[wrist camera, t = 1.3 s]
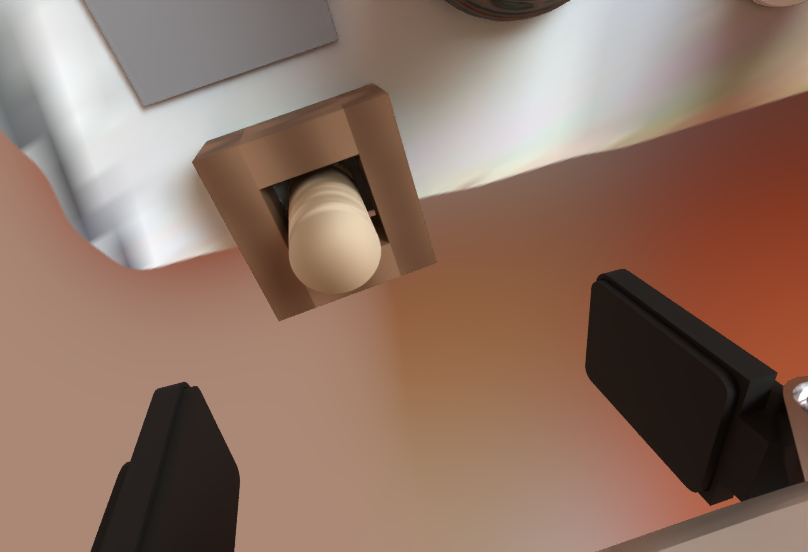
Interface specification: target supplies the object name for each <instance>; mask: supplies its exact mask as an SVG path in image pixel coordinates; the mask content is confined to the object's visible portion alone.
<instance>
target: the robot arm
mask: <svg viewBox="0 0 808 552" xmlns="http://www.w3.org/2000/svg"><path fill="white" fill-rule="evenodd" d="M752 1H754V2H755V3H757V4H761V5H764V6H768V7H782V6H791V5H796V4H799V3H801V2H804V1H807V0H752ZM585 368H586V372H587V375H588V377H589V379H590V380H591V381H592V382H593V384H594V385H595V386H596V387H597V388H598V389H599V390H600V391H601V392H602V394H603V395H604V396H605V397H606V398H607V399H608V400H609V401H610V402H611V404H612V405H613V406H614V407H615V408H616V409H617V410H618V411H619V412H620V414H621V415H622V416H623V417H624V418H625V419H626V420H627V421H628V423H630V425H631V426H632V427H633V428H634V429H635V430H636V431H637V433H638V434H639V435H640V436H641V437H642V438H643V439H644V440H645V441H646V443H647V444H648V445H649V446H650V447H651V448H652V449H653V450H654V451H655V453H656V454H657V455H658V456H659V457H660V458H661V459H662V460H663V462H664V463H665V464H666V465H667V466H668V467H669V468H670V469H671V470H672V472H673V473H674V474H675V475H676V476H677V477H678V478H679V479H680V480H681V482H682V483H683V484H684V485H685V486H686V487H687V488H688V489H689V490H691V491H692V492H698V493H699V494H700V495H701V496H702V497H703V498H704V499H705V500H706V502H708V504H709V505H710V506H711V505H714V504H717V503H720V502H722V501H725V500H728V499H731V498H733V496H734V495H735V496H736V497H737V498H738V499H739V500H740V501H741V502H739V503H736V504H733V505H730V506H727V507H724V508H721V509H718V510H715V511H712V512H710V513H706V514H704V515H701V516H698V517H695V518H692V519H689V520H686V521H683V522H681V523H678V524H675V525H672V526H669V527H666V528H663V529H660V530H657V531H654V532H651V533H649V534H646V535H643V536H640V537H637V538H634V539H632V540H629V541H625V542H623V543H620V544H617V545H614V546H611V547H608V548H606V549H603V550H600V551H597V552H808V376H804V377H796V378H794V379H791V380H789V381H788V382H787V383H786V384H785V385H784V386H783V385H781V384H780V383H778V382H777V381H776V380H775V379H776V376H777V372H776V371H774V370H773V369H771V368H770V367H768V366H767V365H765V364H764V363H762V362H761V361H759V360H758V359H757V358H755V357H754V356H752V355H751V354H749V353H748V352H746V351H745V350H743V349H742V348H741V347H739V346H738V345H736V344H735V343H733V342H732V341H730V340H729V339H727V338H726V337H724V336H723V335H721V334H720V333H718V332H717V331H715V330H714V329H713V328H711V327H709V326H708V325H707V324H705V323H704V322H702V321H701V320H699V319H698V318H696V317H695V316H693V315H692V314H691V313H689V312H688V311H686V310H685V309H683V308H682V307H680V306H679V305H677V304H676V303H674V302H673V301H672V300H670V299H669V298H667V297H665V296H664V295H663V294H661V293H660V292H658V291H657V290H656V289H654V288H653V287H651V286H650V285H648V284H647V283H645V282H644V281H642V280H641V279H639V278H638V277H636V276H635V275H633V274H632V273H630V272H629V271H627V270H625V269H620V270H615V271H612V272H608V273H604V274H601V275H599V276H598V278H597V281H596V282H594V283H593V285H592V288H591V300H590V313H589V326H588V339H587V350H586V364H585ZM239 488H240V476H239V471H238V467H237V465H236V463H235V461H234V459H233V457H232V455H231V453H230V451H229V449H228V446H227V444H226V443H225V440H224V438H223V436H222V434H221V432H220V430H219V428H218V426H217V424H216V422H215V420H214V418H213V416H212V414H211V411H210V409H209V407H208V405H207V403H206V401H205V399H204V397H203V395H202V393H201V391H200V389H199V388H198V387H197V386H193V387H190V386H189V385H188V384H187V383H186V382H182V383H178V384H174V385H170V386H167V387H162V388H159V389H157V390H155V392H154V394H153V397H152V401H151V403H150V406H149V409H148V412H147V415H146V417H145V420H144V423H143V426H142V429H141V432H140V435H139V438H138V441H137V444H136V446H135V449H134V452H133V455H132V458H131V461H130V462H127V463H126V464H124V465H123V466H122V468H121V470H120V472H119V474H118V477H117V480H116V482H115V485H114V488H113V491H112V494H111V496H110V499H109V502H108V505H107V508H106V510H105V513H104V516H103V518H102V522H101V524H100V527H99V530H98V532H97V535H96V538H95V541H94V544H93V546H92V549H91V552H234V548H235V536H236V523H237V512H238V499H239Z"/></svg>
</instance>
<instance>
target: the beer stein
mask: <svg viewBox="0 0 808 552" xmlns="http://www.w3.org/2000/svg"><path fill="white" fill-rule="evenodd" d="M445 1H447V2H448V3H450V4H451V5H453V6H454V7H456V8H457V9H459V10H461V11H463V12H465V13H468V14H470V15H473V16H476V17H480V18H484V19H489V20H494V21H514V20H523V19H528V18H532V17H535V16H538V15H541V14H544V13H547V12H549V11H552V10H554V9H556V8H558V7H559V6H561V5H563V4H565V3H566V2H568V1H570V0H445Z"/></svg>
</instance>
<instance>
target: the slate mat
mask: <svg viewBox="0 0 808 552" xmlns="http://www.w3.org/2000/svg"><path fill="white" fill-rule="evenodd" d="M84 1H85V3H86V5H87V7H88V8H89V10H90V12H91V14H92V15H93V17H94V19H95V21H96V22H97V24H98V26H99V28H100V29H101V31H102V33H103V35H104V37H105V38H106V40H107V42H108V44H109V45H110V47H111V49H112V51H113V52H114V54H115V56H116V58H117V60H118V61H119V63H120V65H121V67H122V68H123V70H124V72H125V74H126V75H127V77H128V79H129V81H130V83H131V84H132V86H133V88H134V90H135V91H136V93H137V95H138V97H139V98H140V100H141V102H142V104H143V106H147V105H150V104H153V103H156V102H159V101H162V100H165V99H168V98H170V97H173V96H176V95H179V94H182V93H185V92H188V91H191V90H194V89H197V88H200V87H203V86H205V85H208V84H211V83H214V82H217V81H220V80H223V79H226V78H229V77H232V76H235V75H238V74H240V73H243V72H246V71H249V70H252V69H255V68H258V67H261V66H264V65H267V64H270V63H273V62H275V61H278V60H281V59H284V58H287V57H290V56H293V55H296V54H299V53H302V52H305V51H308V50H310V49H313V48H316V47H319V46H322V45H325V44H328V43H331V42H334V41H337V40H339V39H338V36H337V33H336V30H335V27H334V24H333V20H332V17H331V14H330V11H329V8H328V5H327V2H326V0H84Z"/></svg>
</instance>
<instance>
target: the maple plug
mask: <svg viewBox="0 0 808 552" xmlns="http://www.w3.org/2000/svg"><path fill="white" fill-rule="evenodd" d="M380 257H381V245H380V241H379V238H378V235H377V233H376V231H375V228H374V226H373V224H372V221H371V219H370V217H369V214H368V212H367V210H366V207H365V205H364V203H363V200H362V198H361V196H360V193H359V191H358V189H357V186H356V184H355V182H354V179H353V177H352V175H351V174H350V172H349V171H348V170H347V169H346V168H345V167H344V166H343V165H341V164H340V163H338V162H335V163H332V164H330V165H327V166H324V167H321V168H318V169H316V170H313V171H310V172H307V173H304V174H302V175H299V176H296V177H293V178H291V180H290V183H289V261H290V265H291V267H292V270H293V272H294V273H295V275H296V276H297V278H298V279H299V280H300V281H301V282H302V283H303V284H305V285H306V286H307V287H309V288H311V289H313V290H315V291H318V292H322V293H327V294H340V293H346V292H349V291H352V290H354V289H356V288H358V287H360V286H362V285H363V284H364V283H366V282H367V281H368V280H369V279H370V278H371V277H372V275H373V274H374V272H375V271H376V269H377V267H378V265H379V262H380Z"/></svg>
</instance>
